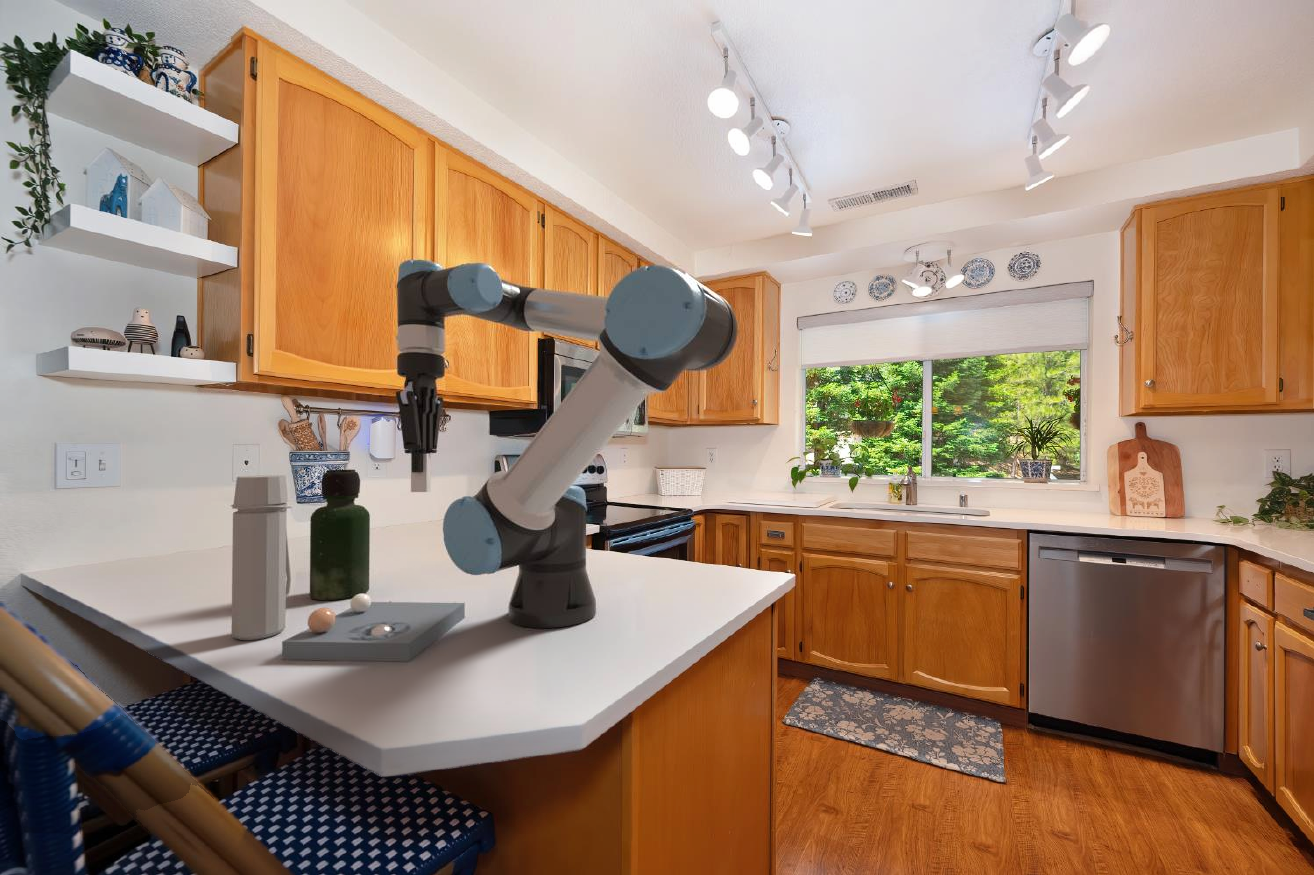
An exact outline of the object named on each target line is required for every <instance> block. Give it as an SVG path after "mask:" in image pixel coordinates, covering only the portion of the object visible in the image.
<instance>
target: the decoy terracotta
mask: <svg viewBox="0 0 1314 875" xmlns="http://www.w3.org/2000/svg"><path fill="white" fill-rule="evenodd" d="M335 614H336V613H335V612H334V611H333V610H331V609H330V608H327V607H321V608H320V607H319V608H317V609H315V610H314V611H312V612H311V613H310V615H309V616H308V618H307V627H308V629H309V628H310V630H312V631H313V632H316V633H323V632H326V631H328V630H329V629H331V628H332V626H333V625H334V623H335V616H336V615H335Z"/></svg>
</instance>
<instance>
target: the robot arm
mask: <svg viewBox="0 0 1314 875" xmlns="http://www.w3.org/2000/svg"><path fill="white" fill-rule="evenodd" d="M397 273H398V274H397V275H398V276H397V282H396V290H397V292H396V295H397V298H396V300H397V301H396V302H397V308H396V310H397V314H396V315H397V335H396V336H395V339H396V340H397V350H398V351H399V352H400V353H398V355H397V356H396V360H397V361H396V370H397V371H396V372H397V375H398V376H399V377H402V378H405V379H404V384H403V388H404V389H403V390H397V391H396V392H395V397H396V401H397V403H398V404H397V405H398V410H399V419H400V426H401V435H402V442H403V443H402V445H403V446H402V447H403V449H404V454H410V493H428V492H429V493H430V492H431V474H432V472H431V466H432V465H431V464H432V462H431V456H432V455H431V454H436V453H437V452H438V451H437V449H438V439H439V434H440V432H439V431H440V422H441V414H442V408H443V404H444V398H443V397H442V396H441V397H440V396H438V386H437V382H436V381H437V379H442V378H444V377H445V376H446V375H445V372H446V371H445V370H446V369H445V368H446V366H445V364H446V363H445V357H444V356H443V354H444V353H445V352H446V331H445V330H446V326H445V321H446V318H448V317H454V316H462V315H463V316H470V317H474V318H477V319H481V320H484V321H489V322H492V323H497V324H500V325H503V326H506V327H507V326H508V327H510V328H511V327H512V328H515V329H516V330H519V331H523V332H540V333H545V334H551V335H557V336H563V337H569V338H574V339H580V340H584V341H591V342H596V343H598V346H599V353H598V355H597V357H596V358H595V359H594V360H593V361H592V363H591V364H590V365H589V366H588V367H587V369H586V370H585V371H584V373H583V374H582V375H581V377H580V378H579V379H578V381H577V382H576V383H575V385H574V386H573V388H571V390H570V391H569V392H568V394H567V395H566V396H565V397H564V398H563V400H562V401H561V403H560V404H559V405H558V407H556V409H555V410H554V411H553V413H552V414H551V415H550V416H549V418H548V419H547V421H546V422H545V423H544V424H543V425H542V427H541V429H540V430H539V431H538V432H537V433H536V434H535V436H534V437H533V439H532V440H531V441H530V442H529V443H528V445H527V446H526V447H525V449H524V450H523V451H522V452H521V454H520V455H519V457H518V458H517V459H516V460H515V462H514V463H513V464H512V465H511V467H510V468H509V469H508V470H500V471H496V472H494V473H493V474H492V475H490V477H489V478H488V479H487V480H486V482H485V483H484V485H483V486H482V487H481V488H480V489H479V491H478V492H477V493H476V494H474V495H473V496H470V495H466V496H465V495H464V496H462V497H461V498H458V499H456V500H454V501H453V502H452V503H451V504H449V506H448V507H447V510H446V511H445V514H444V516H443V522H442V532H443V542H444V546H445V549H446V552H447V554H448V556H449V557H450V560H451V562H453V564H454V565H455V566H456V567H457V568H458V569H459V570H460V571H462V572H463V573H465V574H467V575H471V576H481V575H491V574H493V575H494V574H495V573H497V572H500V571H504V570H507V569H511V568H514V567H517V566H518V575H517V578H516V581H515V584H514V587H513V590H512V594H511V597H510V600H509V602H508V607H507V608H508V612H507V613H508V614H507V615H508V617H507V618H508V621H510V622H511V623H513V624H515V625H518V626H521V627H528V628H538V629H539V628H540V629H542V628H543V629H545V628H546V629H548V628H549V629H550V628H551V629H552V628H560V627H562V628H563V627H568V626H575V625H577V624H581V623H584V622H587V621H590V620H591V619H593V618H594V617H595V616H596V614H597V600H596V597H595V593H594V591H593V587H592V584H591V581H590V578H589V575H588V571H587V511H588V506H587V501H586V500H587V498H586V497H587V496H586V492H585V490H584V489H583V488H582V487H580V486H578V485H573V484H574V483H575V482H576V480H578V479H579V477H580V476H581V475H582V473H584V471H585V470H586V469H587V468H588V467H589V465H590V464H591V463H592V462H593V460H594V459H595V458H596V457H597V456H598V454H599V453H600V452H601V451H603V449H604V448H605V446H607V444H608V443H609V442H610V440H611V439H612V438H613V437H614V436H615V435H616V433H617V432H618V431H619V429H620V428H621V427H622V426H623V425H624V424H625V423H626V421H628V419H629V418H630V417H631V415H632V414H634V412H635V411H636V410H637V408H638V407H639V406H640V405H641V404H642V403H643V401H644V400H645V399H647V397H648V395H650V394H658V393H659V394H660V393H665V392H667V391H668V389H669V388H670V387H671V386H672V384H673V383H674V382H675V381H676V380H677V379H678V377H679V376H680V375H681V374H682V373H683V372H684V371H690V372H701V371H708V370H710V369H713V368H715V367H717V366H719V365H720V364H721V365H722V363H723V362H724V361H725V360H726V359H728V357H729V356H730V354H731V353H732V351H733V350H734V347H735V346H736V342H737V338H738V331H739V330H738V327H739V325H738V321H737V320H738V319H737V317H736V314H735V312H734V309H733V308H732V307H731V305H730V304H729V303H728V301H727V300H726V299H725V298H724V297H723V296H721V295H720V294H718V293H716V291H713V290H711V289H709V288H708V287H707V286H705V285H704V284H702V282H701V283H700V281H698V280H696V279H695V278H693V277H692V276H690V275H689V274H688V273H687V272H684V271H681V270H680V269H679V270H677V269H676V268H675V269H674V268H673V267H670V266H666V265H662V264H661V265H660V264H654V265H652V264H651V265H644V266H641V267H639V268H636V269H634V270H632V271H630V272H628V273H627V274H626V275H624V277H622V278H621V279H620V280H619V281H618V282H617V283H616V284H615V286H614V287H613V289H612V290H611V292H610V294H609V295H608V296H601V295H593V294H586V293H579V292H578V293H577V292H569V291H563V290H562V291H560V290H553V289H552V290H551V289H545V288H536V287H531V286H529V287H528V286H522V285H518V284H516V283H512V282H509V281H506V280H504V279H502V278H501V277H500V275H499V274H498V272H496V271H495V270H494V268H493V267H492V266H491V265H489V264H487V263H485V262H472V263H471V262H470V263H469V262H466V263H462V264H460V265H457V266H452V267H447V268H444V267H443V266H442V265H440V264H439V263H437V262H434V261H431V260H425V259H415V260H414V259H407V260H405V261H403V262H401V263H400V264H399V265H398V272H397Z"/></svg>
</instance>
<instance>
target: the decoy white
mask: <svg viewBox="0 0 1314 875" xmlns="http://www.w3.org/2000/svg"><path fill="white" fill-rule="evenodd" d="M371 602H372V600H371V597H370V596H369V595H368V594H366V593H364V594H357V595H356V596H354V597H352V598H351V600H350V608H352V610H353V611H355V612H358V613H361V612H364V611H366V610H367V609H368V608H369V607H370V605H371Z"/></svg>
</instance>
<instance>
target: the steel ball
mask: <svg viewBox="0 0 1314 875" xmlns="http://www.w3.org/2000/svg"><path fill="white" fill-rule="evenodd" d="M391 632H393V630H392V628H391V627H390V626H388V625H384V624H382V625H378V626H376V627H375V628H373V630H372V631H371V633H370V636H378V635H384V634H388V633H391Z"/></svg>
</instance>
